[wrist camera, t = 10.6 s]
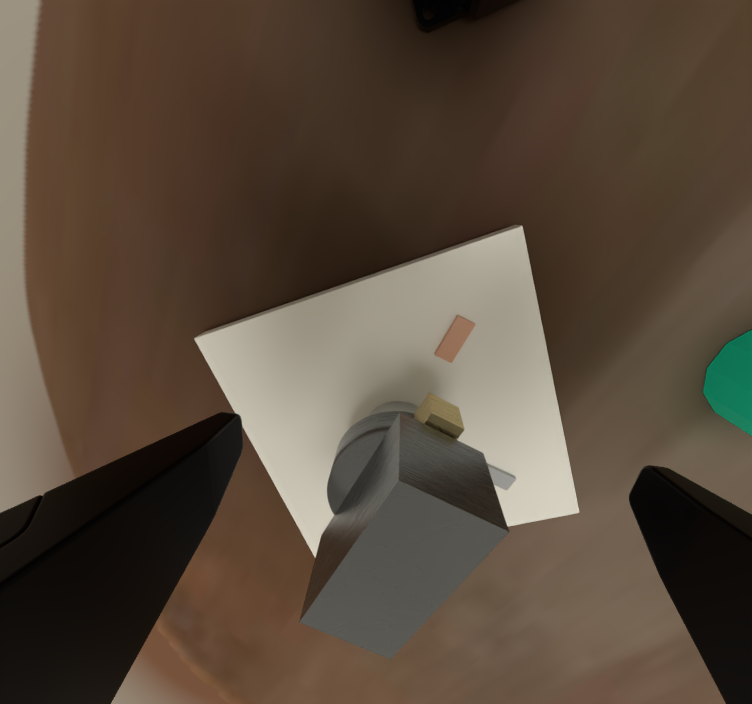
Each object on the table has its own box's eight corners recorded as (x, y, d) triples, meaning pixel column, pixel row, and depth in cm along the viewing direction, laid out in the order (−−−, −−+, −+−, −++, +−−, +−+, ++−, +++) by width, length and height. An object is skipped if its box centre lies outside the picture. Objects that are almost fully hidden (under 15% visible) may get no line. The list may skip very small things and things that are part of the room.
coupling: (413, 538, 20) (417, 669, 14) (310, 492, 20) (270, 610, 14) (501, 426, 17) (550, 537, 11) (382, 367, 16) (371, 452, 11)
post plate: (205, 331, 21) (162, 357, 17) (514, 224, 18) (544, 228, 14) (321, 548, 27) (308, 602, 23) (571, 498, 24) (602, 552, 20)
